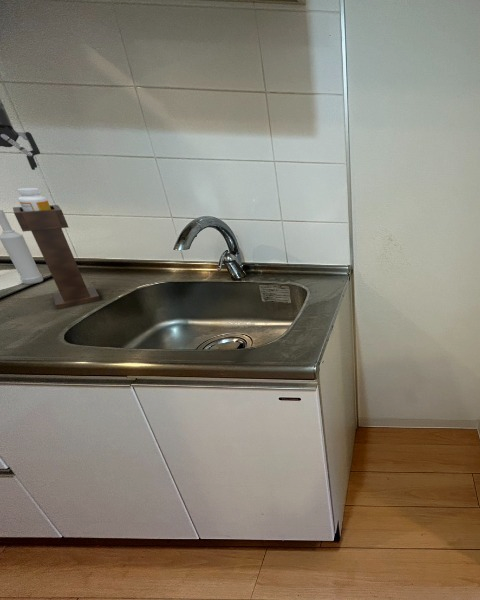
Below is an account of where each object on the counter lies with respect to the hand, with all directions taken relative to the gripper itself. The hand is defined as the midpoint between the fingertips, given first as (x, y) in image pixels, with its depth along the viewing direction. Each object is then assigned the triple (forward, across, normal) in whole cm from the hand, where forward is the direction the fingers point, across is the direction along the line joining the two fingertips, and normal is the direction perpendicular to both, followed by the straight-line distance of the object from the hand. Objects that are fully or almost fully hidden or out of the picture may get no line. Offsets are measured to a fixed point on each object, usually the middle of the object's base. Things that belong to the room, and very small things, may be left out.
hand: (12, 169), depth 91 cm
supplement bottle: (+14, -2, +15) cm, 21 cm away
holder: (+38, -2, +16) cm, 41 cm away
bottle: (+38, +7, -11) cm, 40 cm away
